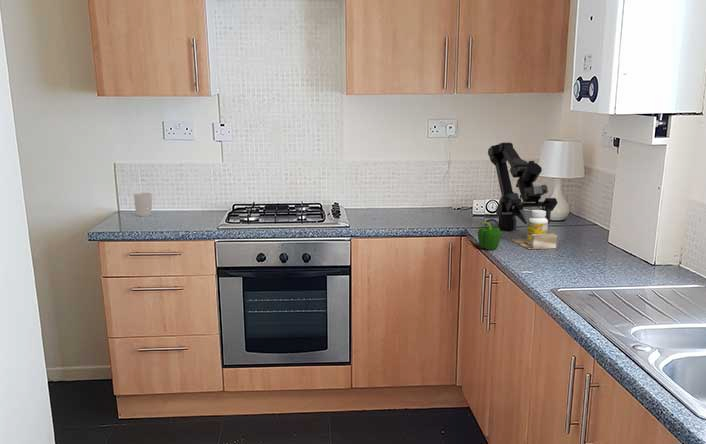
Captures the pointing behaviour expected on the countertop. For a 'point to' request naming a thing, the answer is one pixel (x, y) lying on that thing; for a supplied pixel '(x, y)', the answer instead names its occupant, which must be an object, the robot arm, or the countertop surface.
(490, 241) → the bell pepper
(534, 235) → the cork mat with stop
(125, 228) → the countertop surface
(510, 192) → the robot arm
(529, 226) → the supplement bottle
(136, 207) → the white cup
